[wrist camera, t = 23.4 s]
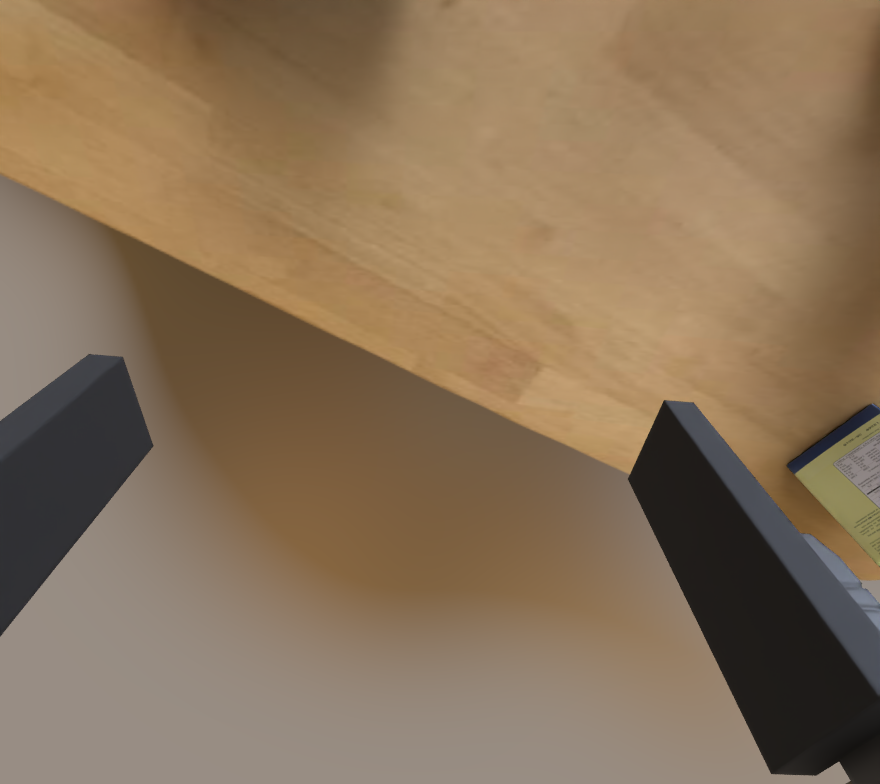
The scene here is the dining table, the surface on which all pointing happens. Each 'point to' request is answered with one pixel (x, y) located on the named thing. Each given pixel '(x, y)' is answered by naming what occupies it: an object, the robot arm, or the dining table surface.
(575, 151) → the dining table surface
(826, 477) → the protein box
